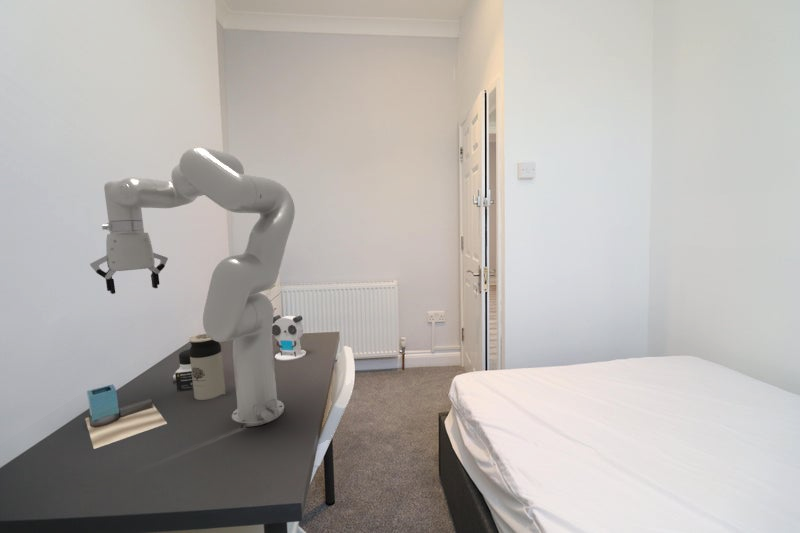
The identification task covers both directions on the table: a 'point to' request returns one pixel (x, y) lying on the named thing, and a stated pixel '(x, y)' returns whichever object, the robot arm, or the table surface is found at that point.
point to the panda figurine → (288, 337)
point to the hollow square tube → (103, 402)
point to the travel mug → (206, 367)
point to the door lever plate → (124, 423)
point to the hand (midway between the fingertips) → (134, 290)
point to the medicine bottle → (184, 372)
